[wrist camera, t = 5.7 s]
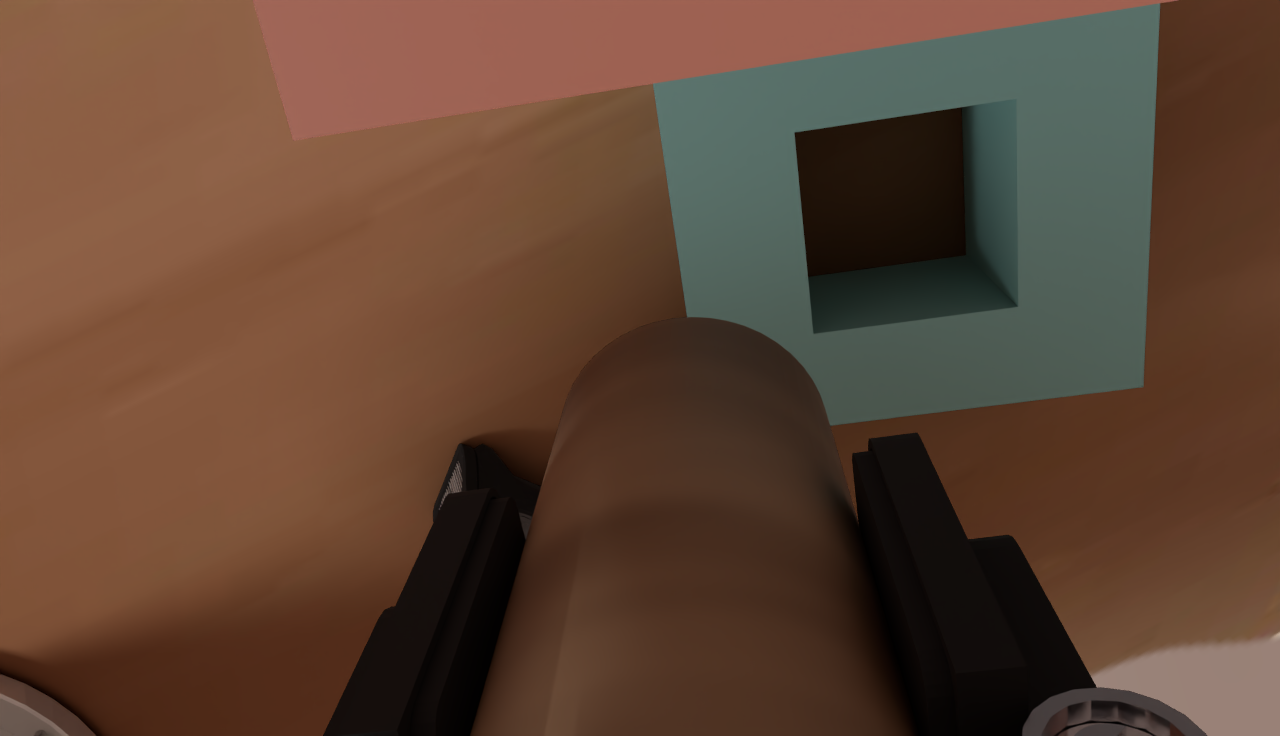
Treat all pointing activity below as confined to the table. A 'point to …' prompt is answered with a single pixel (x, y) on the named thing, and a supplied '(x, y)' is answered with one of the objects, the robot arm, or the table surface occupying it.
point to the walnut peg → (694, 558)
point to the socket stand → (768, 173)
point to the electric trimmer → (488, 480)
